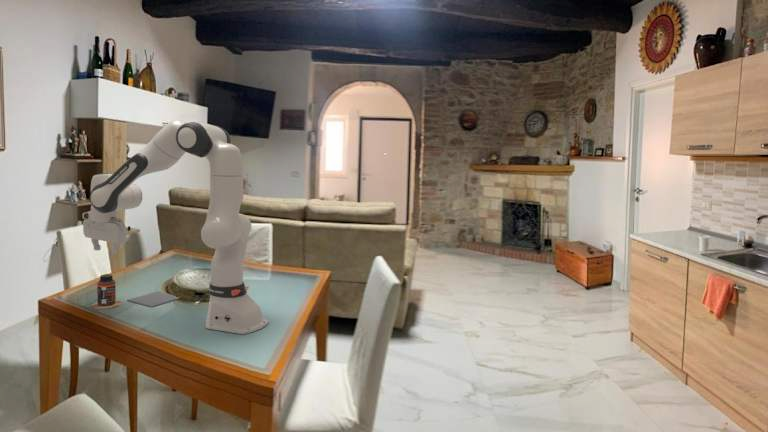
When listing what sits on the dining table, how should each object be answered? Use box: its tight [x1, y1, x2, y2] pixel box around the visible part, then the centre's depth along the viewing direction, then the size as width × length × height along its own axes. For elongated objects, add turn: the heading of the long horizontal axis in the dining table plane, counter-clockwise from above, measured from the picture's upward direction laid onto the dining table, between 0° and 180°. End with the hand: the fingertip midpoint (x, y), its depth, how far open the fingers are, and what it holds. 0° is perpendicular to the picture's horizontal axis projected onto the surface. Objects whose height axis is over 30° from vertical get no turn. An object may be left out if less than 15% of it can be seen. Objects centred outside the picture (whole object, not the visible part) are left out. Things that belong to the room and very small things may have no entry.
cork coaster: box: [90, 299, 123, 310], centre depth 175 cm, size 10×10×1 cm
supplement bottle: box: [96, 273, 117, 306], centre depth 174 cm, size 6×6×11 cm
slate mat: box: [126, 290, 180, 308], centre depth 184 cm, size 14×14×1 cm
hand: (105, 251), depth 173 cm, fingers open, 8 cm apart
